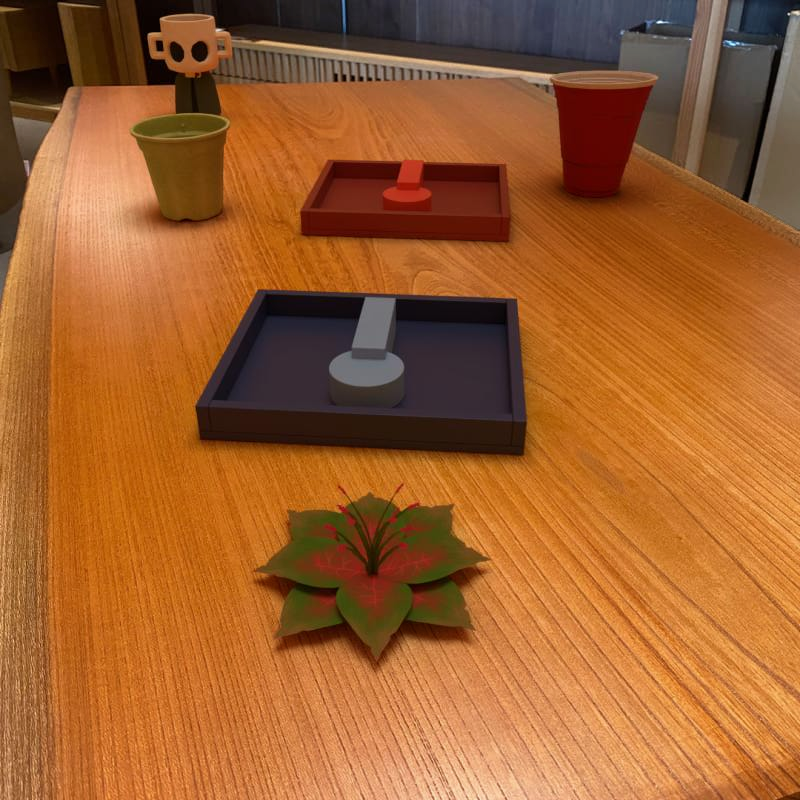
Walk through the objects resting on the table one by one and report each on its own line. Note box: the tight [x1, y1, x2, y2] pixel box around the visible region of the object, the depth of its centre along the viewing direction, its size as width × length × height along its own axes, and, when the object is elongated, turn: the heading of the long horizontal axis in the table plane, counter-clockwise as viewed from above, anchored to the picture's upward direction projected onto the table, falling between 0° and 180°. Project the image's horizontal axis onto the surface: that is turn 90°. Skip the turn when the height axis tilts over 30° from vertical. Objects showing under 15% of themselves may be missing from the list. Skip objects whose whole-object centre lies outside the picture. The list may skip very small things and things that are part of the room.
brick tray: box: [299, 159, 512, 242], centre depth 85 cm, size 20×17×2 cm
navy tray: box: [194, 288, 528, 456], centre depth 57 cm, size 20×17×2 cm
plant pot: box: [128, 113, 231, 222], centre depth 83 cm, size 9×9×9 cm
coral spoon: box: [383, 159, 432, 212], centre depth 85 cm, size 5×11×3 cm, turn 175°
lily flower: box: [251, 482, 493, 662], centre depth 40 cm, size 12×12×5 cm
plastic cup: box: [549, 70, 659, 198], centre depth 88 cm, size 11×11×12 cm
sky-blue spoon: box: [329, 297, 404, 408], centre depth 56 cm, size 5×11×3 cm, turn 175°
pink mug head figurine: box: [147, 13, 234, 116], centre depth 113 cm, size 11×7×13 cm, turn 96°
